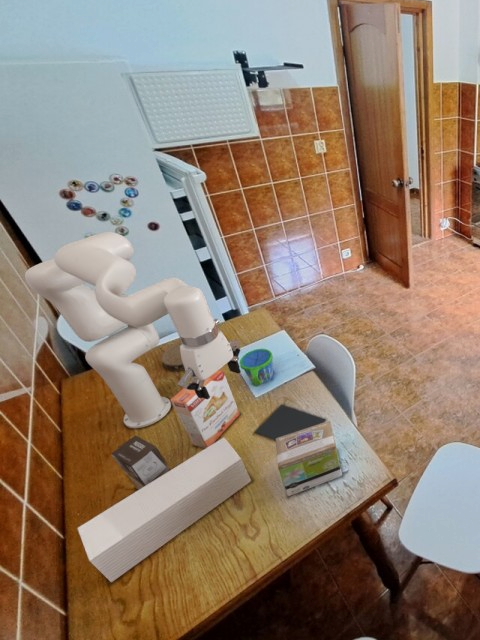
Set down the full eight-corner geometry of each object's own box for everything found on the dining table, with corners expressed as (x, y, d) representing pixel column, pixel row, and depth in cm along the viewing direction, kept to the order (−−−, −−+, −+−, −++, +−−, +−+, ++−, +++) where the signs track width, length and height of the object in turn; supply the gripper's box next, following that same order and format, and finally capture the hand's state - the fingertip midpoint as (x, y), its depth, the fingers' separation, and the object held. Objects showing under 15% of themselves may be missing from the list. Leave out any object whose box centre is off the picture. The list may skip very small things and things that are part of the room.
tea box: (288, 498, 108) (276, 467, 100) (285, 468, 116) (273, 437, 108) (343, 476, 114) (335, 445, 107) (337, 449, 122) (329, 418, 114)
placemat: (254, 432, 126) (254, 431, 125) (281, 405, 136) (281, 404, 135) (300, 449, 121) (300, 448, 121) (325, 419, 131) (324, 419, 131)
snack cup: (273, 391, 141) (266, 371, 135) (241, 395, 138) (233, 375, 133) (281, 362, 154) (276, 342, 148) (253, 365, 151) (246, 345, 146)
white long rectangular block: (234, 459, 117) (224, 437, 112) (251, 481, 112) (241, 458, 106) (98, 550, 95) (77, 527, 90) (111, 582, 90) (89, 560, 84)
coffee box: (179, 481, 111) (158, 446, 103) (156, 502, 106) (131, 466, 98) (158, 469, 114) (135, 434, 105) (134, 488, 109) (108, 453, 100)
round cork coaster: (173, 346, 159) (171, 340, 157) (217, 341, 162) (214, 335, 161) (156, 373, 146) (153, 367, 144) (203, 367, 149) (201, 361, 148)
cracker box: (209, 449, 120) (185, 403, 109) (192, 445, 121) (167, 399, 110) (241, 414, 132) (223, 369, 121) (226, 410, 133) (206, 366, 122)
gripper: (218, 311, 102) (236, 359, 111) (152, 353, 88) (179, 404, 97) (240, 317, 100) (257, 366, 109) (177, 361, 86) (202, 412, 95)
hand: (220, 384), depth 103 cm, fingers open, 9 cm apart
